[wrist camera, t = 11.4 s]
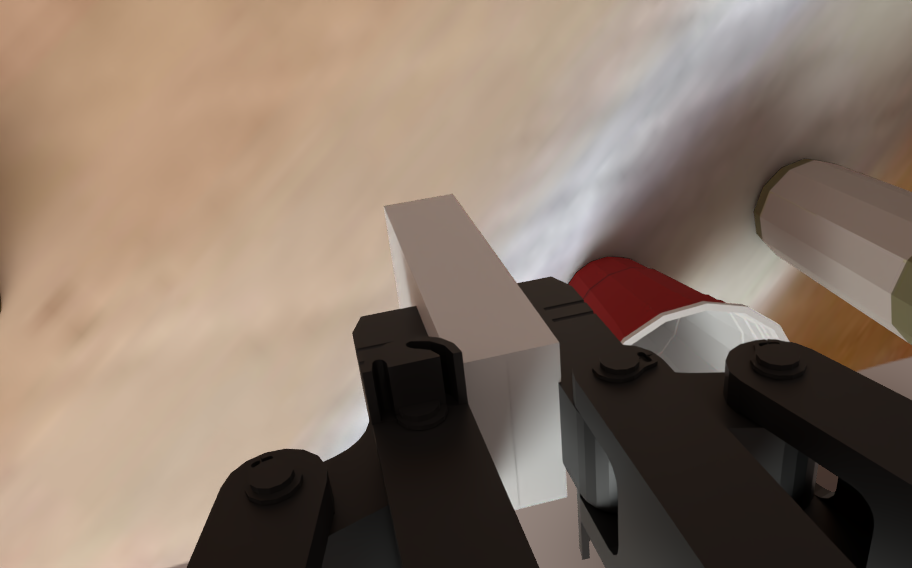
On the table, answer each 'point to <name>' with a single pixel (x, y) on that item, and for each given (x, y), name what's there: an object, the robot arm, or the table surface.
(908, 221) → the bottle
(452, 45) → the table surface
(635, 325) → the plastic cup
